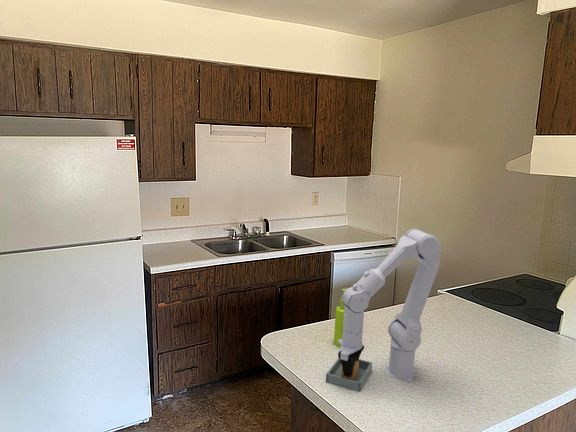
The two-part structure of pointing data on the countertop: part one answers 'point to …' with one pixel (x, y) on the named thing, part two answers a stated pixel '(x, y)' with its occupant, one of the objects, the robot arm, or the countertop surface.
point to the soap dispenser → (339, 321)
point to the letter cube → (355, 371)
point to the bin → (357, 384)
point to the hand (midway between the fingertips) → (349, 372)
